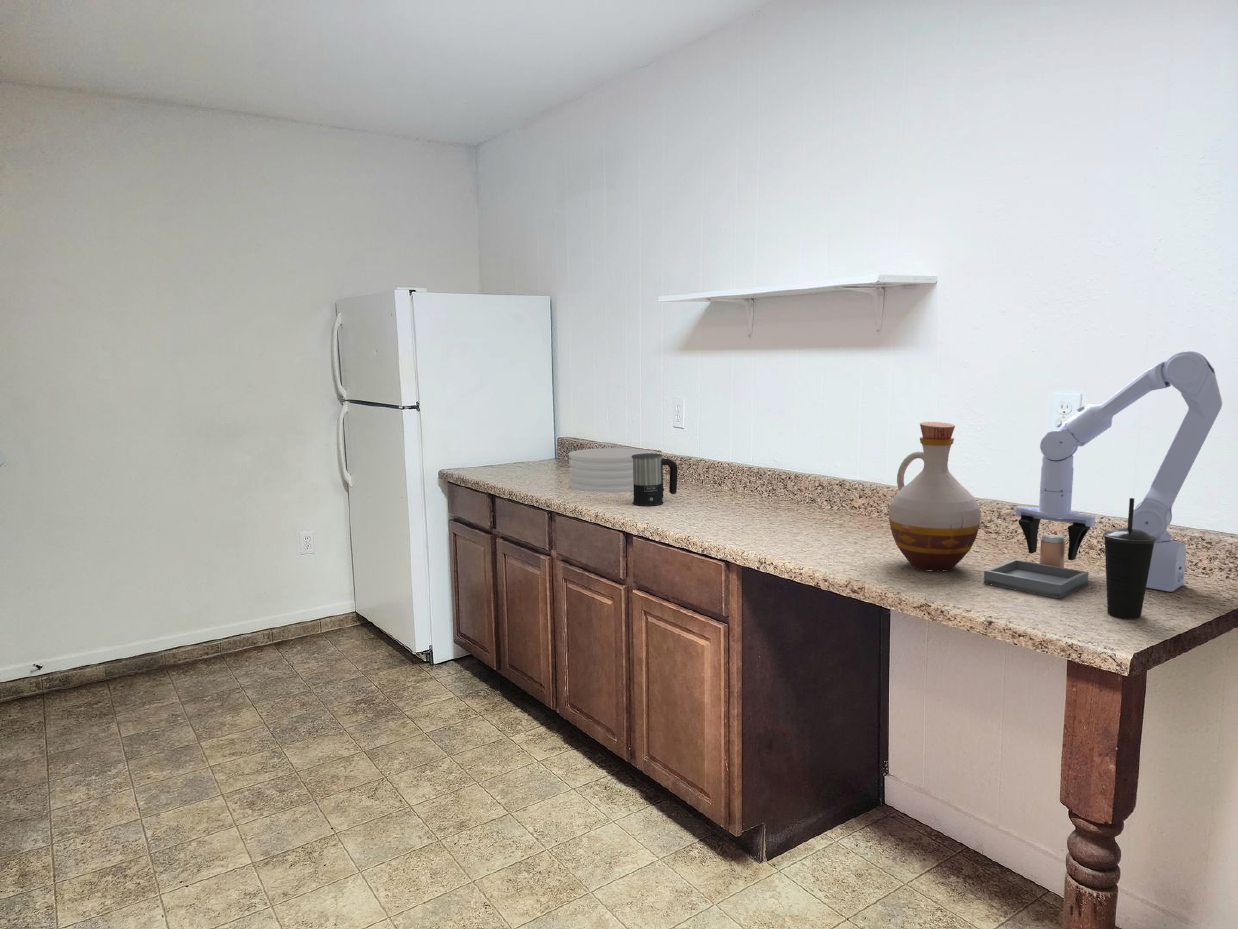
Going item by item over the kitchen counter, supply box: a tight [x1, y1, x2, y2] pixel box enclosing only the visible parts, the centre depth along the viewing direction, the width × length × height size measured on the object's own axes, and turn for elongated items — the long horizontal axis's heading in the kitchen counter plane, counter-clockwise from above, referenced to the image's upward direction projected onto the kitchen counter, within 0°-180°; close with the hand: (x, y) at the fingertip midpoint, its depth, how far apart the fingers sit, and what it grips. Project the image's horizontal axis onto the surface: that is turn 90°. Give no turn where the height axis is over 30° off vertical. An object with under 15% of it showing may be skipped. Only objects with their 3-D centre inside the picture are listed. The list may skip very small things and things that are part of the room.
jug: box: [888, 421, 982, 572], centre depth 173 cm, size 20×18×30 cm
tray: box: [983, 558, 1089, 599], centre depth 160 cm, size 14×13×2 cm
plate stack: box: [568, 447, 652, 493], centre depth 285 cm, size 28×28×12 cm
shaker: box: [1039, 534, 1066, 568], centre depth 169 cm, size 4×4×7 cm
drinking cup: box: [1102, 497, 1157, 620], centre depth 140 cm, size 8×8×20 cm
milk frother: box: [631, 452, 679, 507], centre depth 253 cm, size 14×16×15 cm
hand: (1051, 556), depth 169 cm, fingers open, 7 cm apart
